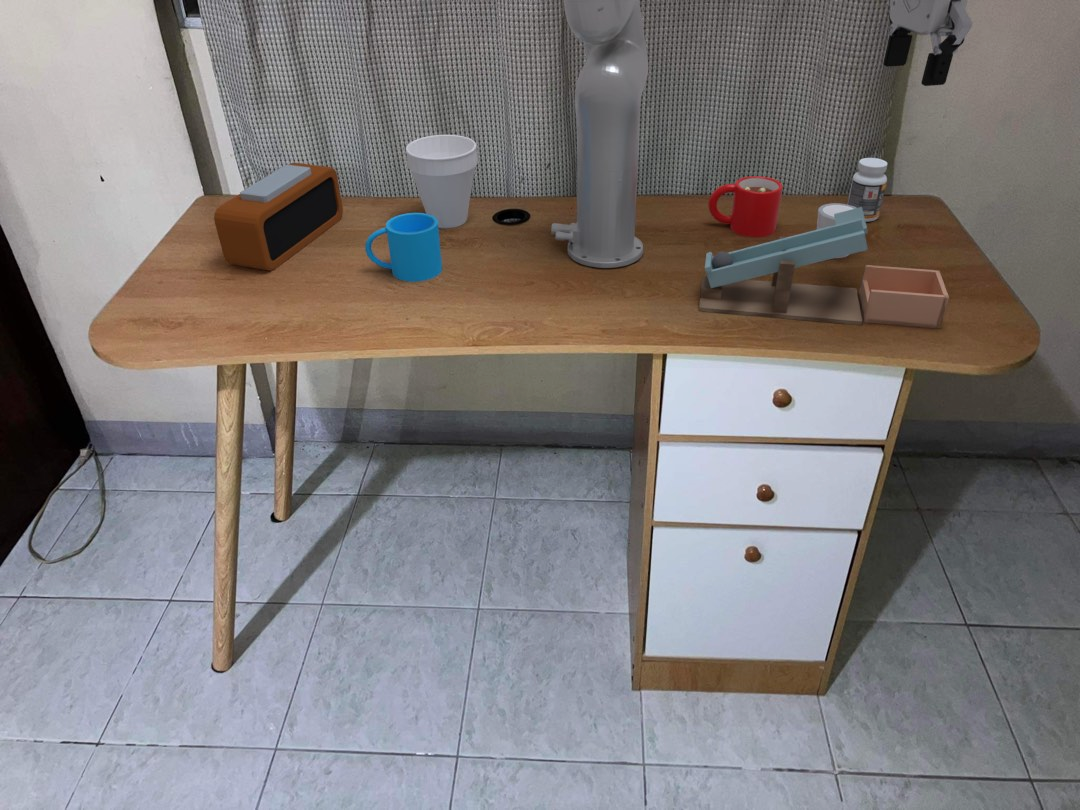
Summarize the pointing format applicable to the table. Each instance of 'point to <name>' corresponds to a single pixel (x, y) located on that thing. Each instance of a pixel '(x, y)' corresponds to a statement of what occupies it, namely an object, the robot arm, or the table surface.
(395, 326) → the table surface
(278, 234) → the alarm clock
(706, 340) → the table surface
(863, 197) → the pill bottle
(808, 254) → the lever
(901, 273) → the pink open box
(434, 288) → the table surface
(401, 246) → the mug
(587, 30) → the robot arm
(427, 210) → the white flower pot
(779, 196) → the mug
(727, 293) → the launcher base
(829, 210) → the white cylinder
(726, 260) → the ball
